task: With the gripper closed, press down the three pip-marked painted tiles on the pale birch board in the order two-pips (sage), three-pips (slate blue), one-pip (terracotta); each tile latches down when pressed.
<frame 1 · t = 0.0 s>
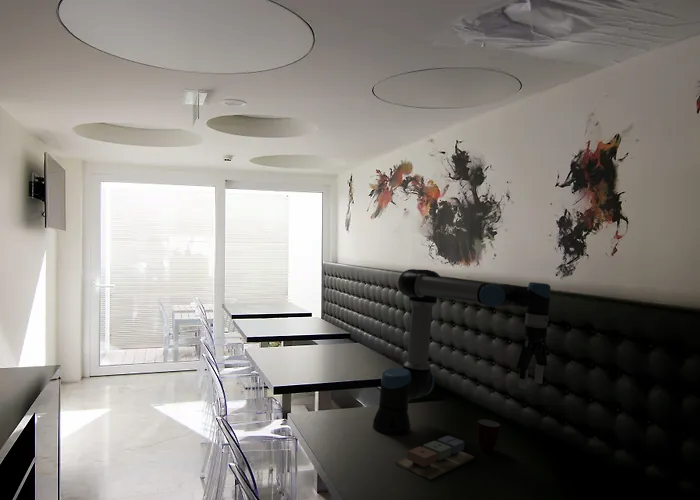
hand: (530, 385, 178), 28 cm above the table, fingers open, 13 cm apart
tile 2: (437, 450, 173), point 4 cm above the table, slide at 0.0 cm
mug: (486, 451, 187), on the table
tile 3: (450, 444, 180), point 4 cm above the table, slide at 0.0 cm
tile 1: (422, 456, 166), point 4 cm above the table, slide at 0.0 cm
board: (435, 461, 173), on the table
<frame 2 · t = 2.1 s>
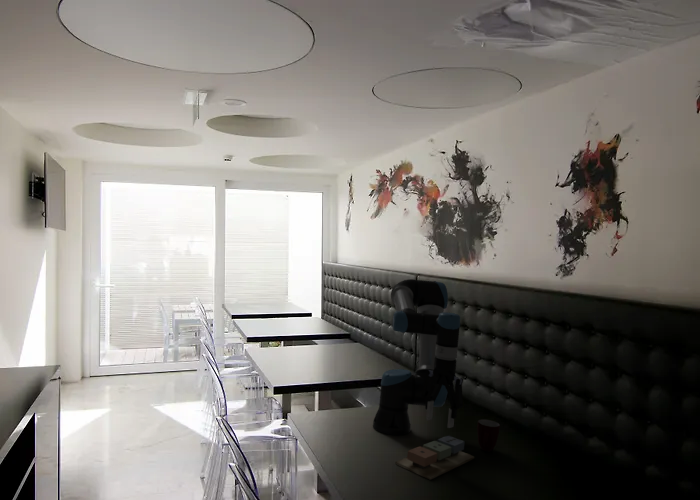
hand: (439, 423, 173), 13 cm above the table, fingers open, 8 cm apart
nothing on the table moved.
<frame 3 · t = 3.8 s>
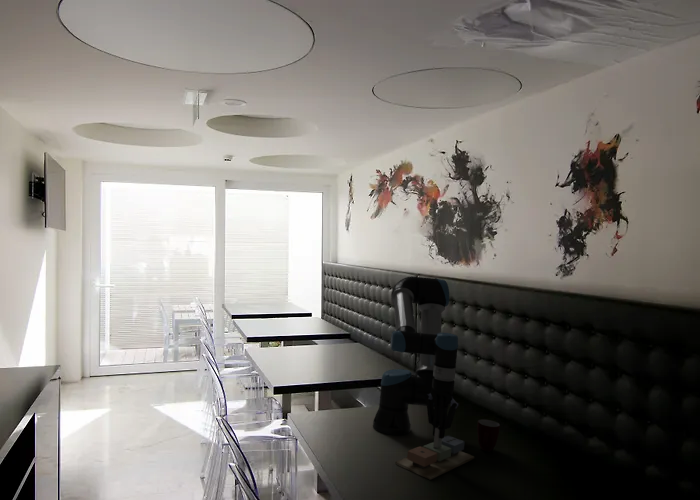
hand: (437, 446, 173), 5 cm above the table, fingers closed
tile 2: (436, 451, 173), point 4 cm above the table, slide at 0.4 cm, touching gripper
everything else where it was.
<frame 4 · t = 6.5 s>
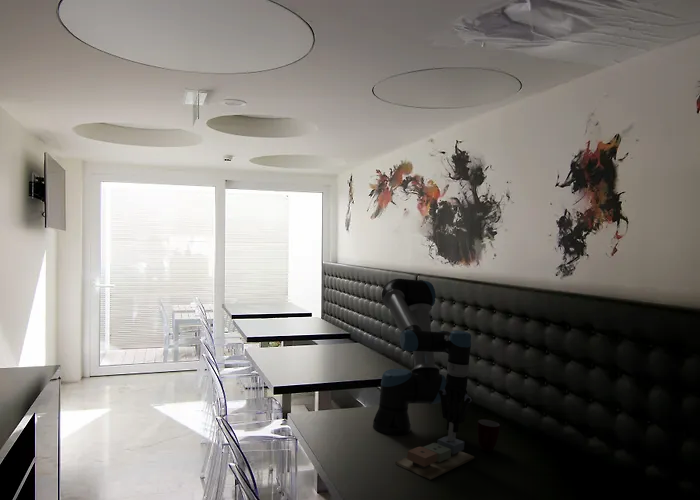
hand: (451, 440, 179), 6 cm above the table, fingers closed
tile 2: (436, 452, 173), point 3 cm above the table, slide at 0.7 cm
tile 3: (450, 444, 180), point 4 cm above the table, slide at 0.1 cm, touching gripper
everything else where it was.
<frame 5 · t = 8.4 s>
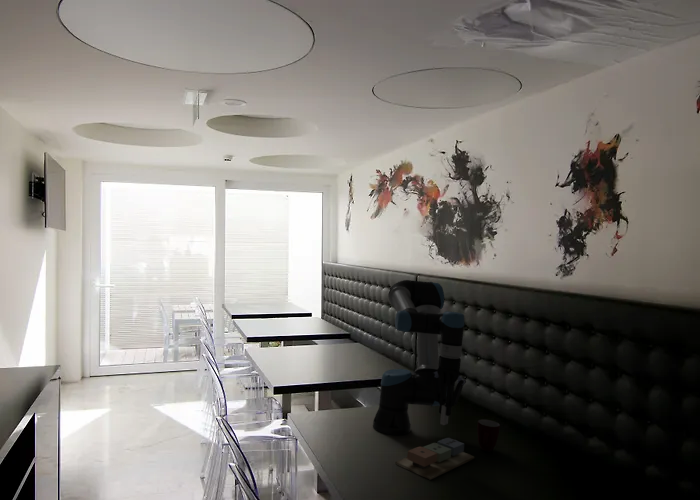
hand: (444, 423, 174), 13 cm above the table, fingers closed
tile 3: (450, 446, 180), point 3 cm above the table, slide at 0.7 cm
everything else where it was.
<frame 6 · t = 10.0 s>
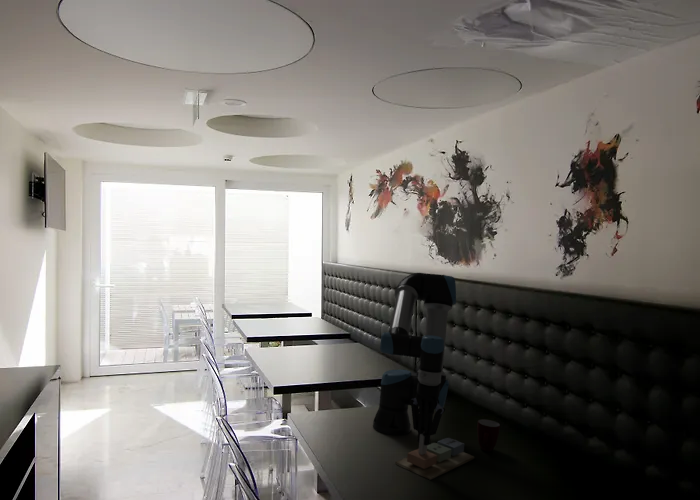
hand: (422, 453, 166), 5 cm above the table, fingers closed
tile 1: (421, 458, 166), point 3 cm above the table, slide at 0.7 cm, touching gripper
everything else where it was.
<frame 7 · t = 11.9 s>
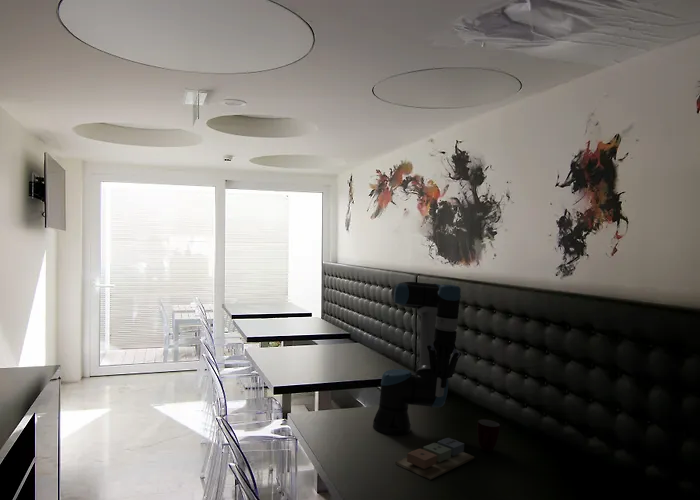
hand: (439, 395, 175), 22 cm above the table, fingers closed
tile 1: (421, 458, 166), point 3 cm above the table, slide at 0.7 cm
everything else where it was.
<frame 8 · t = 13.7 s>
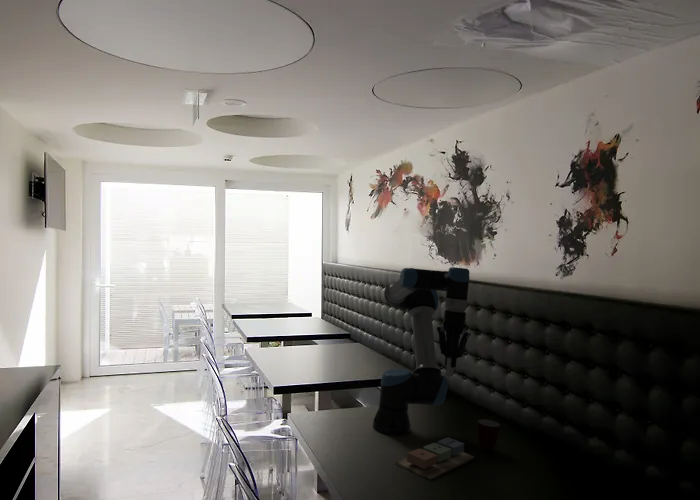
hand: (449, 375, 180), 28 cm above the table, fingers closed
nothing on the table moved.
at the end: tile 2 slide at 0.7 cm; tile 3 slide at 0.7 cm; tile 1 slide at 0.7 cm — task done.
